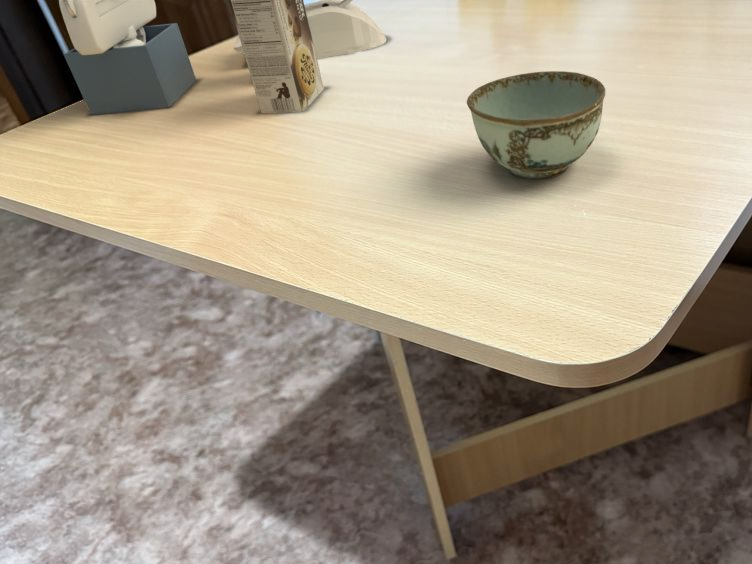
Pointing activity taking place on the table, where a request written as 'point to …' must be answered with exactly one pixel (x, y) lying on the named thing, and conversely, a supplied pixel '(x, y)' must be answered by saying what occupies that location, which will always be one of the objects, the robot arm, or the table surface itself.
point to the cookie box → (278, 53)
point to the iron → (338, 29)
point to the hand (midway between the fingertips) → (134, 68)
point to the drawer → (135, 73)
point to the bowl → (537, 120)
